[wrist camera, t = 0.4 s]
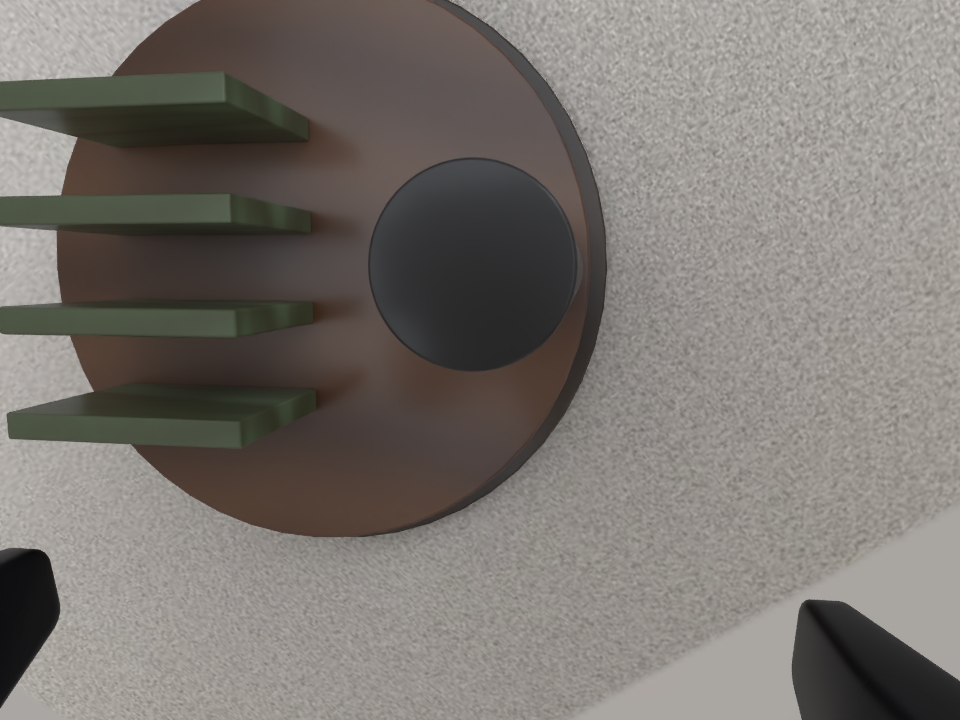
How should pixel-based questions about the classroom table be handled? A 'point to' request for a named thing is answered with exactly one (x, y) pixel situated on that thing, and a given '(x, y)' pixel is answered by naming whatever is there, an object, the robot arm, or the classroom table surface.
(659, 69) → the classroom table surface
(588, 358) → the rack stand
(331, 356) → the plate holder
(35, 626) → the robot arm
